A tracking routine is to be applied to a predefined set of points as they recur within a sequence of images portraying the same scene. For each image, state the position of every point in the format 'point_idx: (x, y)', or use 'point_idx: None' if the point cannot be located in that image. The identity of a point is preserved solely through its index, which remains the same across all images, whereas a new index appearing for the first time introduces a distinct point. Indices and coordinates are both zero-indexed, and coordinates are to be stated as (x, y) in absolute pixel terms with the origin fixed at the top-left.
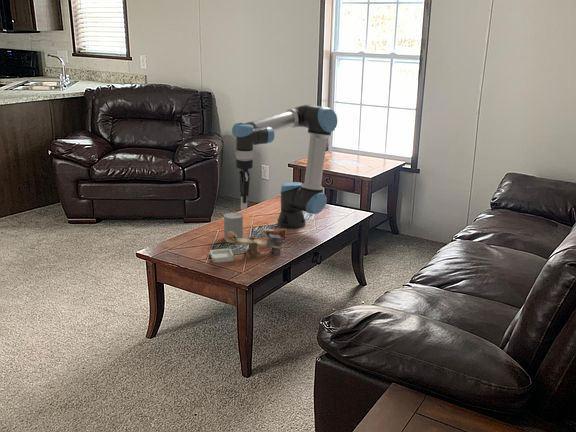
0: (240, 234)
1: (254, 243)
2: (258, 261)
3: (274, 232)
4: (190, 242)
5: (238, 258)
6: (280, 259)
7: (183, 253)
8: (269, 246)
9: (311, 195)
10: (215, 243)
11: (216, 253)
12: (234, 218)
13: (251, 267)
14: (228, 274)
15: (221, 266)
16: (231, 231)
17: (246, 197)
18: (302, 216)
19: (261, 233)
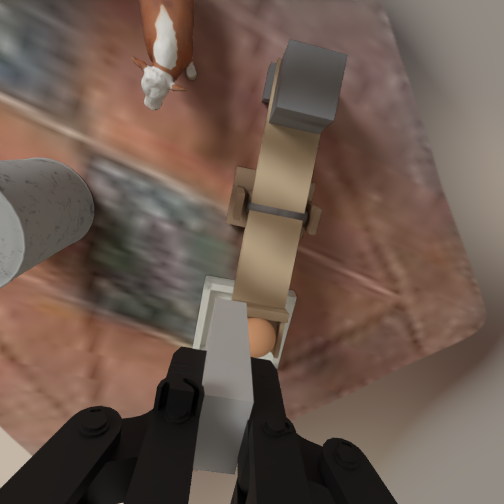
0: (71, 189)
1: (317, 223)
2: (345, 211)
3: (185, 21)
4: (46, 374)
5: None
6: (376, 114)
7: None
8: (318, 135)
9: None
10: (87, 296)
11: (207, 331)
12: (24, 250)
13: (381, 258)
14: (388, 345)
15: (317, 345)
16: (256, 344)
17: (250, 394)
18: None
19: (158, 104)
